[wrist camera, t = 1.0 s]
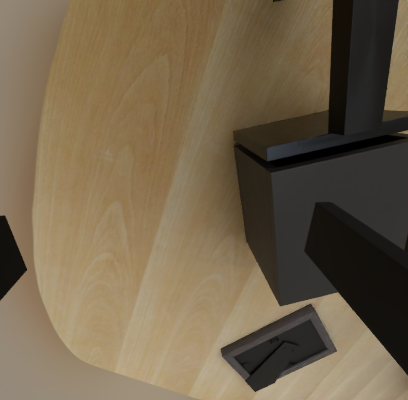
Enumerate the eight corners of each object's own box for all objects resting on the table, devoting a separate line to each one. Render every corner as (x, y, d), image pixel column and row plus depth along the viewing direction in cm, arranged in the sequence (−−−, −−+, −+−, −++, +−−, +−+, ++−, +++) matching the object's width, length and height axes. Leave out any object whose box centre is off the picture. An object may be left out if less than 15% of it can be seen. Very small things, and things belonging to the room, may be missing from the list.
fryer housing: (233, 145, 30) (270, 172, 18) (332, 123, 31) (430, 136, 19) (246, 241, 37) (280, 306, 25) (327, 222, 37) (398, 277, 25)
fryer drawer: (213, -10, 23) (256, -135, 11) (344, -36, 23) (524, -184, 11) (246, 233, 35) (283, 300, 23) (331, 213, 36) (410, 269, 24)
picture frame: (252, 382, 54) (332, 344, 51) (255, 391, 52) (338, 353, 50) (220, 349, 47) (310, 303, 45) (222, 358, 45) (316, 312, 43)
